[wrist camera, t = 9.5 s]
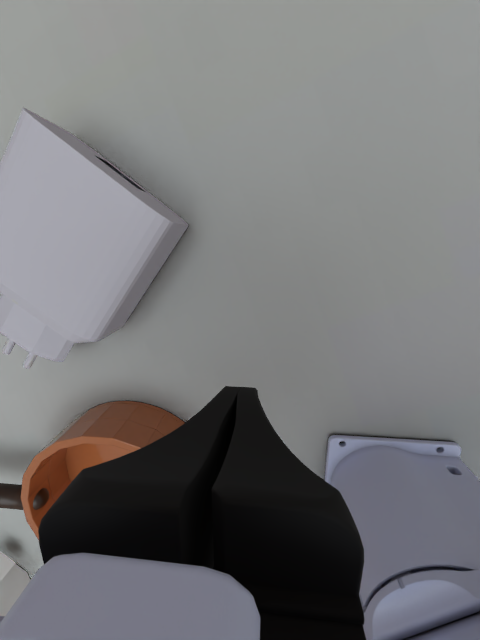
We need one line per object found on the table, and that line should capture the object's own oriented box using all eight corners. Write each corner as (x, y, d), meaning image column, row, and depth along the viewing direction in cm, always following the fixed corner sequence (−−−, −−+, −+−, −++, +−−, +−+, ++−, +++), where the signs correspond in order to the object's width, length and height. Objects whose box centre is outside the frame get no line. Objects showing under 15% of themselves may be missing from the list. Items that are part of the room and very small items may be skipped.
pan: (212, 405, 23) (199, 443, 18) (216, 536, 26) (206, 595, 22) (50, 396, 24) (1, 430, 20) (76, 523, 28) (40, 575, 23)
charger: (-9, 312, 22) (75, 134, 18) (90, 381, 23) (192, 225, 19) (-80, 331, 18) (11, 99, 14) (46, 415, 19) (168, 220, 14)
